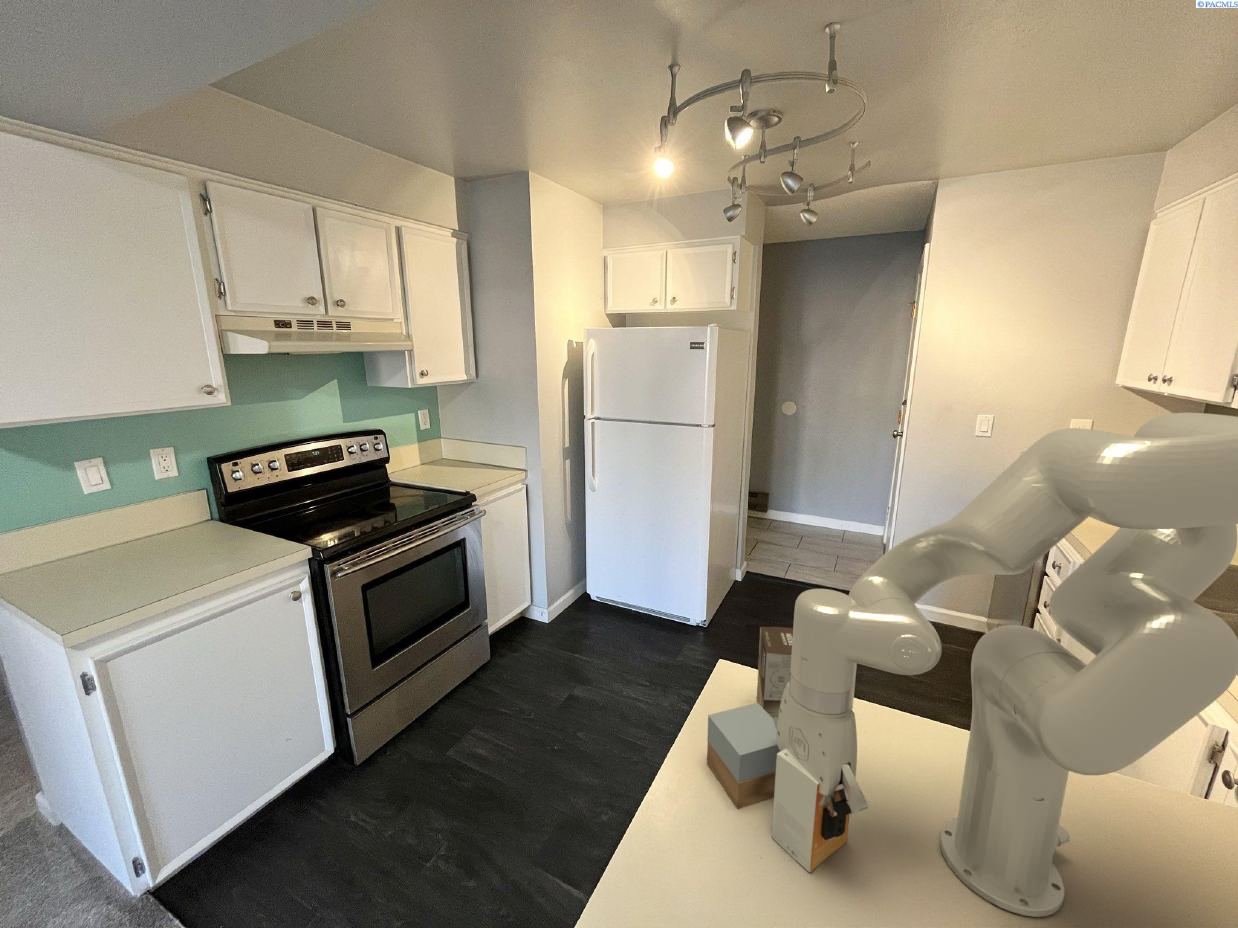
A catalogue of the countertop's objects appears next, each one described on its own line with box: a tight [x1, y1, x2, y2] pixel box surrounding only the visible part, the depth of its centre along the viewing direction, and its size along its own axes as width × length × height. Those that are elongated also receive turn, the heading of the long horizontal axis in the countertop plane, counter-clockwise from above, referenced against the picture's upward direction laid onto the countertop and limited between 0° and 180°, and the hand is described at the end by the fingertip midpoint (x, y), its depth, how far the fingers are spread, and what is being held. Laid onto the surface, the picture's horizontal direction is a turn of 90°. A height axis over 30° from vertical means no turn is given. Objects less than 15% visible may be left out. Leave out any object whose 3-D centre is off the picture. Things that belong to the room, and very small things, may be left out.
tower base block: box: [706, 741, 776, 810], centre depth 79 cm, size 9×9×4 cm
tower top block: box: [706, 702, 780, 783], centre depth 79 cm, size 9×9×4 cm
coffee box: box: [756, 626, 793, 719], centre depth 90 cm, size 9×6×16 cm
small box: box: [770, 748, 851, 873], centre depth 68 cm, size 8×6×13 cm
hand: (811, 808), depth 68 cm, fingers closed on small box, 7 cm apart
